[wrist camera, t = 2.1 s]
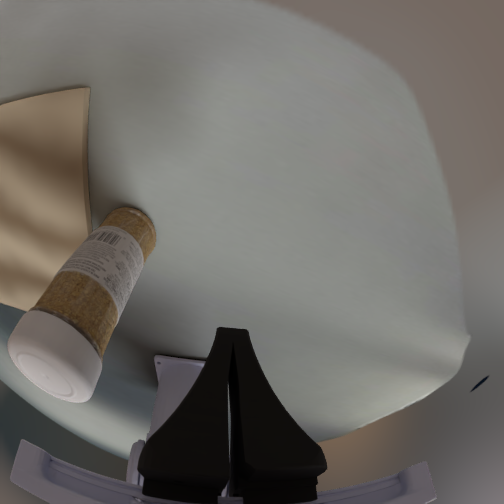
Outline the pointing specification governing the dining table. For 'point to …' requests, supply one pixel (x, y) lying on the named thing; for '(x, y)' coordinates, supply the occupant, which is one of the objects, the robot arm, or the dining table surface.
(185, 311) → the dining table surface
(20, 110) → the birch board
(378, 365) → the dining table surface
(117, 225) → the sprinkles bottle
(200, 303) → the dining table surface
